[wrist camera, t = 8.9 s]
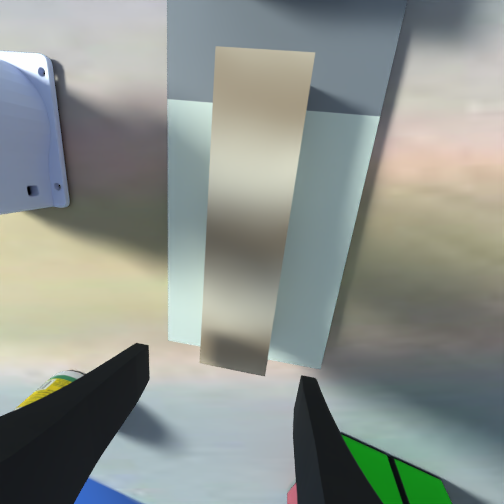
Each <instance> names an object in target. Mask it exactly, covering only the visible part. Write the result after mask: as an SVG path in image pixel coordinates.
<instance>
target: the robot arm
mask: <svg viewBox="0 0 504 504" xmlns="http://www.w3.org/2000/svg"><path fill="white" fill-rule="evenodd" d="M44 70H45V76H44ZM59 185H60V186H61V189H60V188H59ZM69 203H70V200H69V192H68V184H67V177H66V169H65V161H64V153H63V145H62V137H61V129H60V121H59V113H58V105H57V97H56V89H55V81H54V73H53V65H52V62H51V60H50V58H48V57H47V56H45V55H43V54H40V53H27V52H12V51H0V215H1V214H8V213H14V212H21V211H27V210H34V209H41V208H47V207H60V208H63V207H67V206H69ZM148 381H149V346H148V345H144V344H139V343H136V344H134V345H132V346H131V347H129V348H127V349H126V350H124V351H123V352H121V353H120V354H118V355H116V356H115V357H113V358H112V359H110V360H108V361H107V362H105V363H104V364H102V365H100V366H99V367H97V368H96V369H94V370H92V371H91V372H89V373H87V374H85V375H84V376H82V377H80V378H78V379H77V380H75V381H73V382H71V383H70V384H68V385H66V386H64V387H62V388H60V389H59V390H57V391H55V392H53V393H51V394H49V395H47V396H45V397H43V398H41V399H39V400H37V401H35V402H32V403H30V404H28V405H26V406H23V407H21V408H19V409H17V410H14V411H12V412H10V413H7V414H5V415H3V416H0V504H74V502H75V500H76V498H77V497H78V495H79V493H80V491H81V489H82V488H83V486H84V484H85V482H86V481H87V479H88V477H89V475H90V474H91V472H92V470H93V468H94V467H95V465H96V463H97V462H98V460H99V459H100V457H101V455H102V454H103V452H104V451H105V449H106V448H107V446H108V445H109V443H110V442H111V440H112V439H113V438H114V436H115V435H116V433H117V432H118V430H119V429H120V427H121V426H122V424H123V423H124V421H125V420H126V418H127V417H128V415H129V414H130V412H131V411H132V409H133V408H134V406H135V405H136V403H137V402H138V400H139V398H140V397H141V395H142V393H143V391H144V389H145V387H146V385H147V383H148ZM293 443H294V458H295V473H296V489H297V504H384V503H383V502H382V501H381V499H380V498H379V496H378V495H377V493H376V492H375V490H374V489H373V487H372V486H371V484H370V483H369V481H368V480H367V478H366V476H365V475H364V473H363V472H362V470H361V468H360V467H359V465H358V464H357V462H356V460H355V458H354V457H353V455H352V453H351V452H350V450H349V448H348V446H347V444H346V442H345V441H344V439H343V437H342V435H341V433H340V431H339V429H338V427H337V425H336V423H335V421H334V419H333V417H332V415H331V413H330V411H329V409H328V406H327V404H326V402H325V399H324V397H323V395H322V392H321V390H320V387H319V385H318V382H317V380H316V379H315V378H312V377H307V376H302V375H301V379H300V384H299V388H298V393H297V397H296V402H295V407H294V421H293Z"/></svg>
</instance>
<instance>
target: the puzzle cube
mask: <svg viewBox="0 0 504 504" xmlns="http://www.w3.org/2000/svg"><path fill="white" fill-rule="evenodd" d="M341 435H342V434H341ZM342 437H343V439H344V441H345V442H346V444H347V446H348V448H349V450H350V452H351V453H352V455H353V457H354V458H355V460H356V462H357V464H358V465H359V467H360V468H361V470H362V472H363V473H364V475H365V476H366V478H367V480H368V481H369V483H370V484H371V486H372V487H373V489H374V490H375V492H376V493H377V495H378V496H379V498H380V499H381V501H382V502H383V503H384V504H452V502H451V500H450V498H449V496H448V494H447V491H446V489H445V487H444V485H443V483H442V481H441V480H440V479H438V478H436V477H433V476H431V475H429V474H427V473H425V472H423V471H420V470H418V469H416V468H414V467H412V466H410V465H407V464H405V463H403V462H401V461H399V460H397V459H394V458H392V457H390V458H389V459H388V457H387V455H385V454H383V453H381V452H379V451H377V450H375V449H372V448H370V447H368V446H366V445H364V444H362V443H359V442H357V441H355V440H353V439H351V438H349V437H346V436H344V435H342ZM287 504H297V489H296V483H295V484H294V486H293V487H292V488H291V489H290V491H289V492H288V493H287Z"/></svg>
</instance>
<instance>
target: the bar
mask: <svg viewBox="0 0 504 504" xmlns="http://www.w3.org/2000/svg"><path fill="white" fill-rule="evenodd" d="M314 58H315V52H300V51H284V50H268V49H252V48H236V47H220V46H216V48H215V68H214V88H213V107H212V127H211V147H210V167H209V187H208V206H207V226H206V246H205V266H204V286H203V305H202V325H201V345H200V363H201V364H206V365H211V366H216V367H221V368H226V369H231V370H236V371H241V372H246V373H251V374H256V375H261V376H265V372H266V366H267V359H268V353H269V346H270V340H271V334H272V327H273V321H274V314H275V308H276V302H277V295H278V289H279V282H280V276H281V269H282V263H283V257H284V250H285V244H286V237H287V231H288V225H289V218H290V212H291V205H292V199H293V193H294V186H295V180H296V173H297V167H298V161H299V154H300V148H301V141H302V135H303V128H304V122H305V116H306V109H307V103H308V96H309V90H310V84H311V77H312V71H313V64H314Z"/></svg>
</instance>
